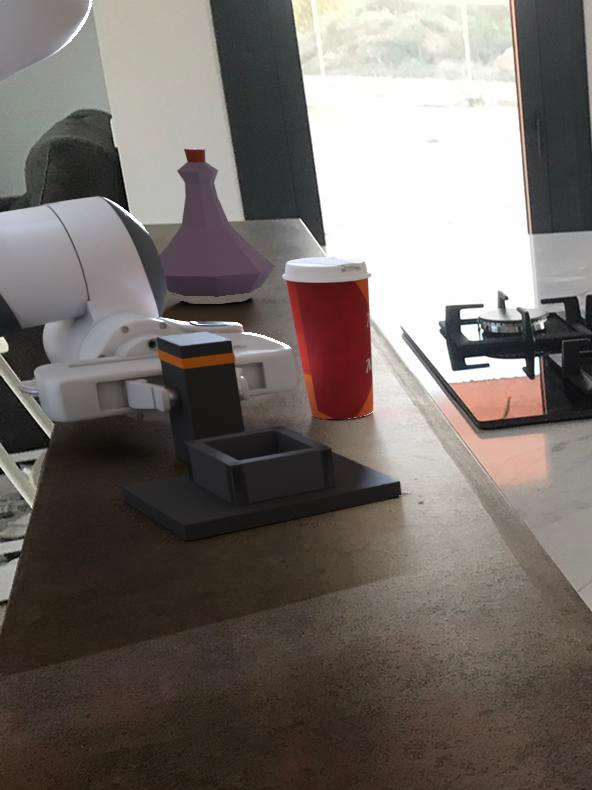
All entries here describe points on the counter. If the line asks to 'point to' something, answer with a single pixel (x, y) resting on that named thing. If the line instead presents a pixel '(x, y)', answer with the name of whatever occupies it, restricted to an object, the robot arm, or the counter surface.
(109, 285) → the robot arm
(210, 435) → the black block
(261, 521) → the base pad
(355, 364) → the paper cup
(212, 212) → the flask
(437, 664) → the counter surface
